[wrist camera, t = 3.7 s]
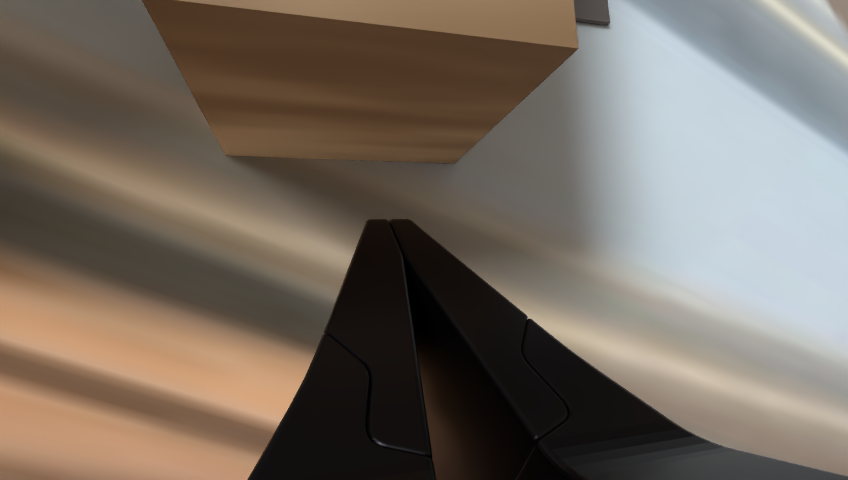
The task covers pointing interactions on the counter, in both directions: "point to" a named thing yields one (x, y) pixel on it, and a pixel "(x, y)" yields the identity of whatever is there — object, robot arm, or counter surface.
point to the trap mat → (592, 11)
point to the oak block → (362, 71)
